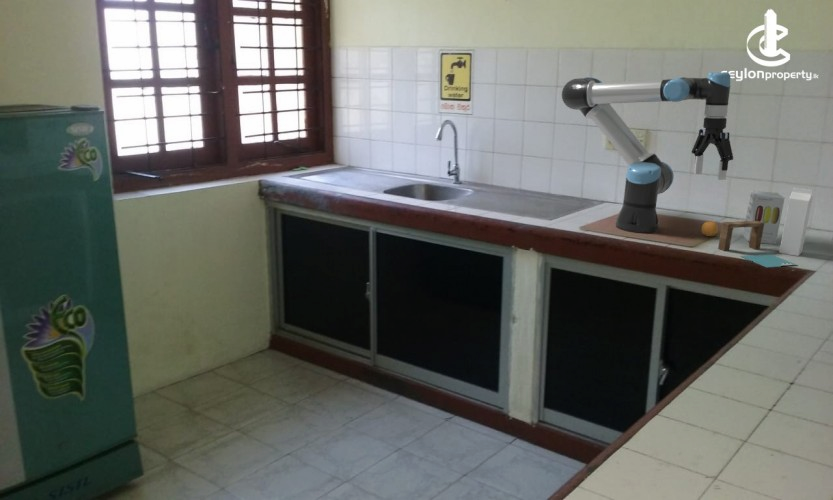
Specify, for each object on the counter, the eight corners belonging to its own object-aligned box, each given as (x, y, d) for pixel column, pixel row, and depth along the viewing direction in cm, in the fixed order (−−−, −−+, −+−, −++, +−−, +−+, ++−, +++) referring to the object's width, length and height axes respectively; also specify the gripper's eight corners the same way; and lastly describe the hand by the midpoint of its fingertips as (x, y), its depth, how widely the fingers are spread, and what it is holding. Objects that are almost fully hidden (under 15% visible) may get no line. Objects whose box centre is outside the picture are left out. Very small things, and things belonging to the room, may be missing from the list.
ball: (706, 238, 265) (709, 223, 263) (697, 234, 270) (699, 219, 268) (719, 238, 266) (722, 223, 265) (709, 234, 271) (712, 219, 270)
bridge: (724, 251, 250) (728, 224, 247) (718, 248, 253) (722, 222, 250) (759, 249, 254) (764, 222, 251) (753, 246, 257) (758, 220, 254)
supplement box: (748, 242, 263) (756, 195, 258) (741, 235, 271) (749, 190, 267) (776, 244, 261) (785, 197, 256) (769, 237, 270) (777, 192, 265)
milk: (782, 249, 255) (794, 185, 249) (802, 252, 252) (814, 188, 246) (778, 252, 251) (790, 188, 245) (798, 256, 247) (811, 191, 241)
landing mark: (766, 267, 233) (767, 267, 233) (740, 256, 244) (740, 255, 244) (797, 265, 237) (798, 265, 237) (770, 254, 248) (770, 254, 248)
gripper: (748, 119, 254) (741, 181, 259) (702, 114, 277) (697, 171, 283) (729, 120, 252) (723, 182, 257) (685, 114, 275) (680, 171, 281)
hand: (709, 176), depth 270 cm, fingers open, 13 cm apart
